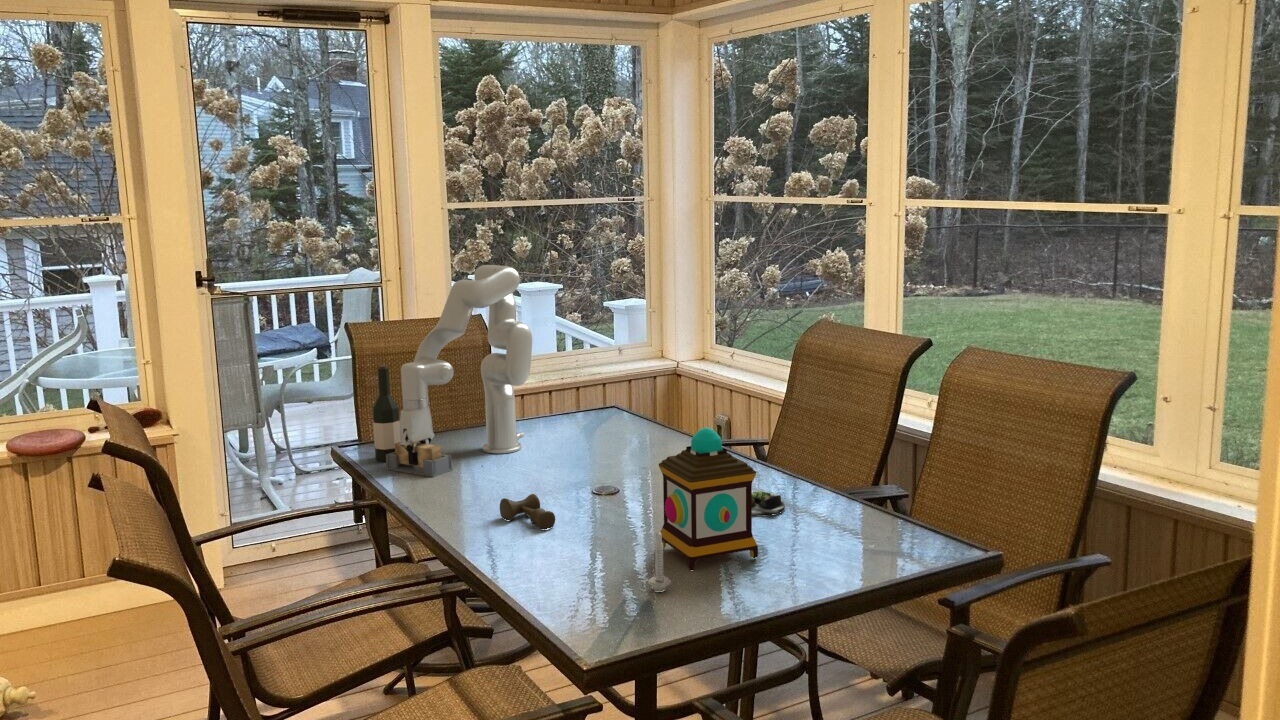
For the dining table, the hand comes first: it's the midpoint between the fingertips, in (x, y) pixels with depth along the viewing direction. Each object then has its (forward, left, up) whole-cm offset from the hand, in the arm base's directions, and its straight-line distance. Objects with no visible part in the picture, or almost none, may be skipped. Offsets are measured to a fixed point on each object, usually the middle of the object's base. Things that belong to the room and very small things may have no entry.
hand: (418, 462), depth 315 cm
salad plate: (-13, +106, -3) cm, 106 cm away
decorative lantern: (+24, +111, -3) cm, 113 cm away
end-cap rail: (0, 0, -2) cm, 2 cm away
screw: (+48, +112, -3) cm, 121 cm away
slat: (0, 0, -1) cm, 1 cm away
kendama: (+23, +59, -3) cm, 63 cm away
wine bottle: (-5, -17, -3) cm, 18 cm away
